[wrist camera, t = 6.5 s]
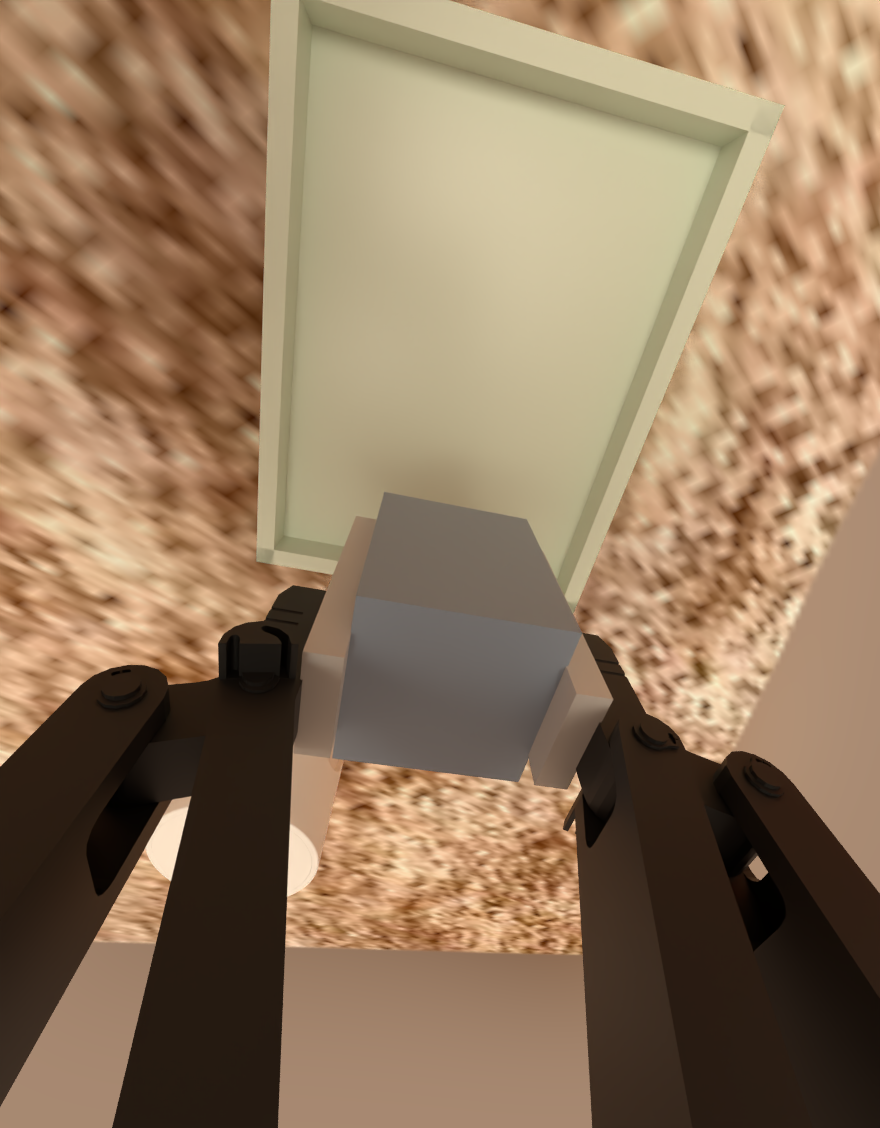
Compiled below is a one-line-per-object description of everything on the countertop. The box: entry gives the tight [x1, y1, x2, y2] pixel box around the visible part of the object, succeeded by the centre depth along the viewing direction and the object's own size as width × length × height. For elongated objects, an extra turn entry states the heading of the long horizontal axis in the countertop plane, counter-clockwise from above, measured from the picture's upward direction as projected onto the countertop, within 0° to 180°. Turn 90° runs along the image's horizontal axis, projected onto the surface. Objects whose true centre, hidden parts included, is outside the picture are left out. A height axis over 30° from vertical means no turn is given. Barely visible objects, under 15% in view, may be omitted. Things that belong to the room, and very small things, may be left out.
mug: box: [145, 739, 344, 897], centre depth 26 cm, size 12×9×8 cm
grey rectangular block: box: [332, 492, 582, 782], centre depth 13 cm, size 4×4×6 cm
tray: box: [256, 0, 785, 613], centre depth 19 cm, size 20×16×2 cm
